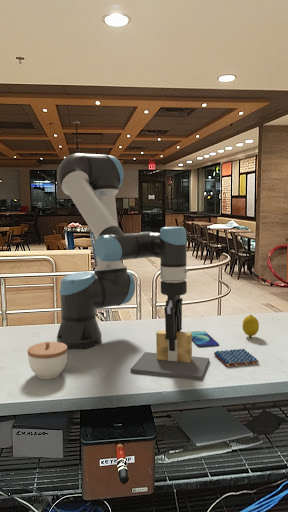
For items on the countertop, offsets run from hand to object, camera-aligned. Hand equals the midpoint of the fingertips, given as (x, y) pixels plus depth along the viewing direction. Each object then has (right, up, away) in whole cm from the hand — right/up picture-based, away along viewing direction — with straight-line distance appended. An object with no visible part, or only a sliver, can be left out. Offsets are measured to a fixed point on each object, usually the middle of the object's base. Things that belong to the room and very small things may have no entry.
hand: (174, 358), depth 126 cm
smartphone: (+11, +1, +21) cm, 24 cm away
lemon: (+28, +2, +23) cm, 36 cm away
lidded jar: (-35, -3, -8) cm, 36 cm away
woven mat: (+19, -2, +2) cm, 19 cm away
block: (0, 0, 0) cm, 0 cm away
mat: (-1, -2, -3) cm, 4 cm away
